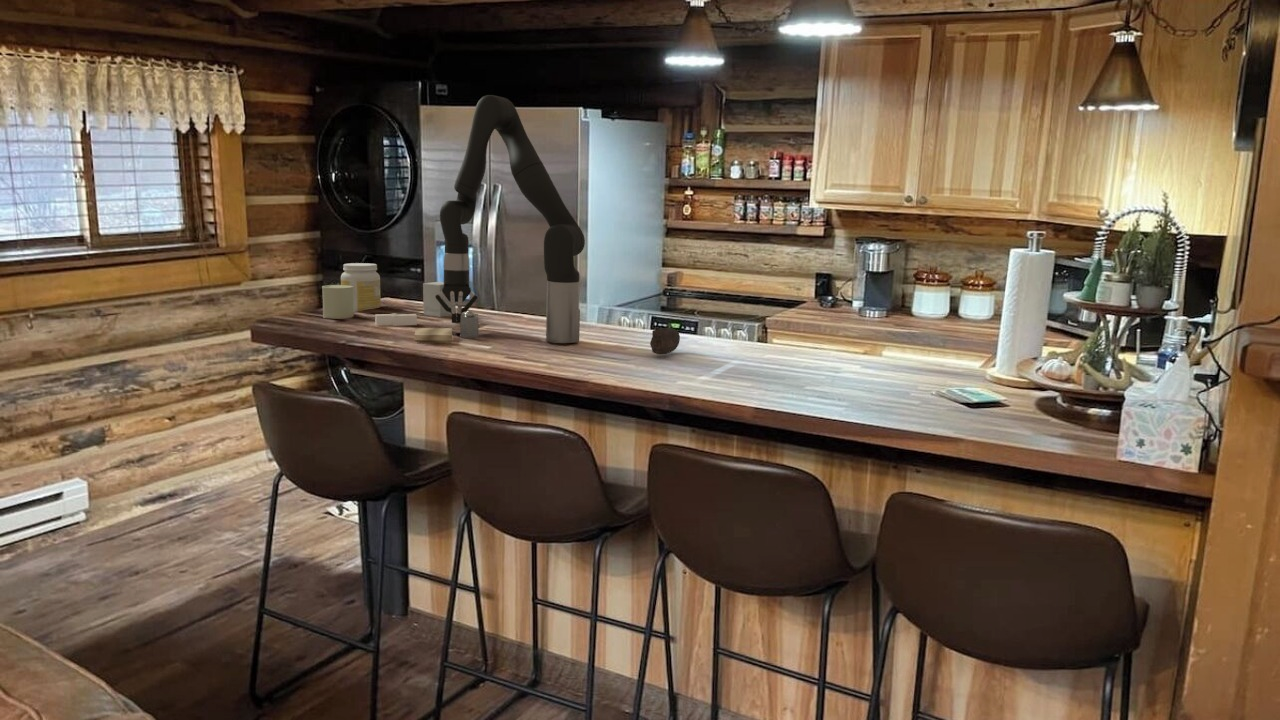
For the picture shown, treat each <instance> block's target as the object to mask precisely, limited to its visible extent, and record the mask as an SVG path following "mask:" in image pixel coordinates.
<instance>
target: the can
mask: <svg viewBox="0 0 1280 720" xmlns="http://www.w3.org/2000/svg"><path fill="white" fill-rule="evenodd" d="M321 289H322V291H321V293H322V318H323V319H333V320H335V319H339V320H340V319H350V318H353V317H354V316H355V314H354V313H355V312H354V308H353V286H349V285H341V284H329V285H322V286H321Z"/></svg>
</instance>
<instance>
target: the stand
mask: <svg viewBox="0 0 1280 720" xmlns="http://www.w3.org/2000/svg"><path fill="white" fill-rule="evenodd" d="M413 338H414V341H420V342H418V344H437V345H438V344H440V345H441V344H444V345H445V344H451V341H453V328H452V327H416V328H415V332H414V337H413Z"/></svg>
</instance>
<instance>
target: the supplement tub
mask: <svg viewBox="0 0 1280 720" xmlns="http://www.w3.org/2000/svg"><path fill="white" fill-rule="evenodd" d="M342 269H343V271H344V272H342V273H341V275H340V285H349V286H353V308H354V313H356V312H362V311H367V310H374V309H379V308H381V303H382V302H381V299H382V298H381V276H380V274H379V273H378V272H377V271H378V264H376V263H368V262H367V263H366V262H365V263H364V262H363V263H362V262H360V263H359V262H355V263H354V262H351V263H344V264H343V268H342Z"/></svg>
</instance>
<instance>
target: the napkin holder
mask: <svg viewBox="0 0 1280 720" xmlns="http://www.w3.org/2000/svg"><path fill="white" fill-rule="evenodd" d="M374 319H375V321H374V322H375V324H374V325H375V326H377V327H378V326H379V327H380V326H382V327H383V326H394V327H395V326H397V327H398V326H417V325H418V315H417V314H415V313H413V314H412V313H410V314H407V313H406V314H405V313H404V314H403V313H401V314H397V313H396V312H395V313H390V314H389V313H388V314H387V313H385V314H384V313H382V314H378V313H377V314H374Z"/></svg>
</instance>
